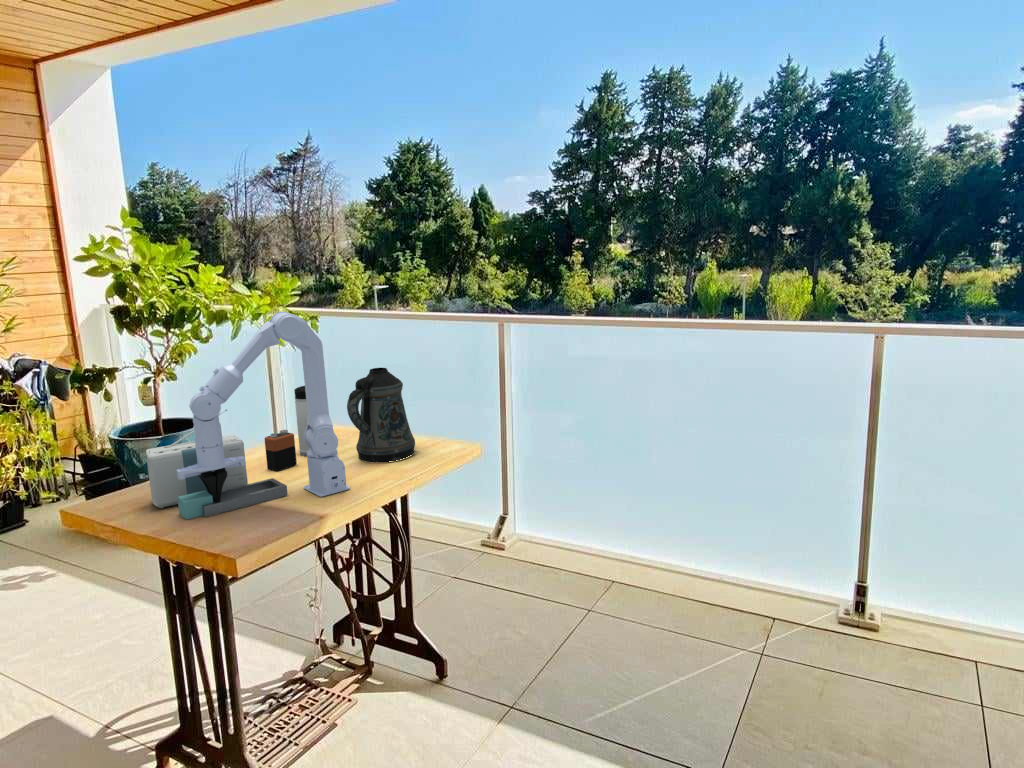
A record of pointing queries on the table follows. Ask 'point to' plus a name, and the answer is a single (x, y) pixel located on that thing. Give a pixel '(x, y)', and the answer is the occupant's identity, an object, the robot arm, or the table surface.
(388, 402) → the beer stein
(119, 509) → the table surface
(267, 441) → the battery
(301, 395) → the travel mug
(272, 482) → the chute
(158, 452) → the stereo radio cassette player
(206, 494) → the block
